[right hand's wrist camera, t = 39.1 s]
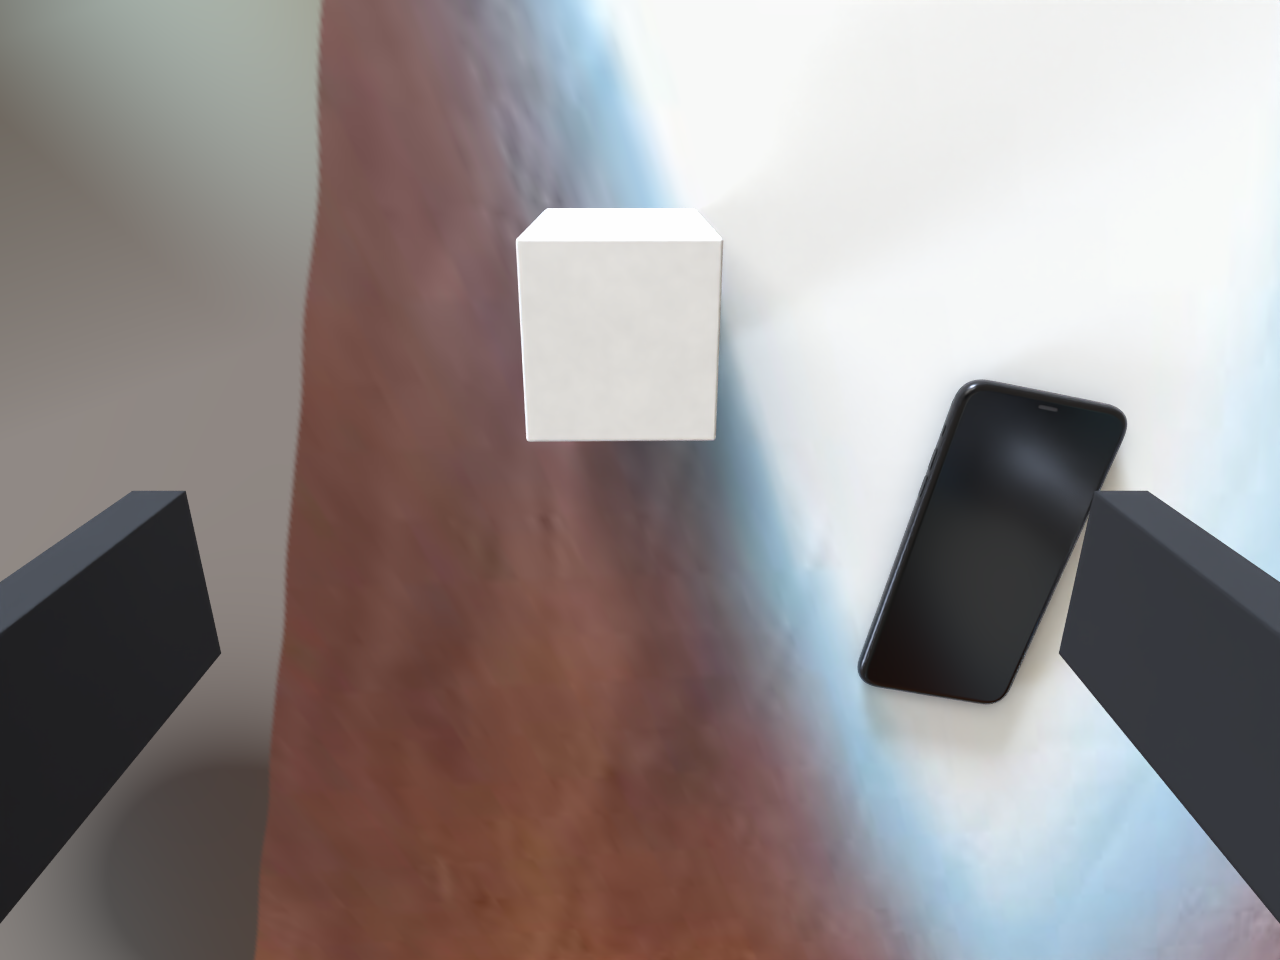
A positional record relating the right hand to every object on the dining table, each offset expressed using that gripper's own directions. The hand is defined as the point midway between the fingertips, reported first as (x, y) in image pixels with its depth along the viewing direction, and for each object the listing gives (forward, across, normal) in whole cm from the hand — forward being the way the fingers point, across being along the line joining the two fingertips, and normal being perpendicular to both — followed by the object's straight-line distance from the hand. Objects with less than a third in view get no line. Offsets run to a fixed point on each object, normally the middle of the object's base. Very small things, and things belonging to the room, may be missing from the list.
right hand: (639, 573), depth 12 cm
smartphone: (+25, +16, -12) cm, 32 cm away
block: (+24, -1, 0) cm, 24 cm away
